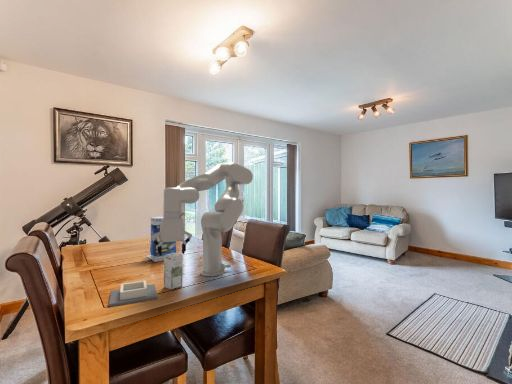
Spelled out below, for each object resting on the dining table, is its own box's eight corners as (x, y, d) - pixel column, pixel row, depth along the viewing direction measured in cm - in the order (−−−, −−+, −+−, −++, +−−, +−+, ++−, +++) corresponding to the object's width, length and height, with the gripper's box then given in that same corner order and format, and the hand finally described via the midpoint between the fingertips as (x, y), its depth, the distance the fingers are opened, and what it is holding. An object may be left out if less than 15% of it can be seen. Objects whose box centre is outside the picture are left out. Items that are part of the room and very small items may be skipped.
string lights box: (154, 262, 154) (154, 218, 154) (150, 259, 160) (150, 217, 159) (176, 258, 163) (176, 216, 162) (171, 255, 169) (171, 215, 168)
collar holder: (154, 286, 118) (154, 277, 118) (157, 298, 106) (157, 288, 106) (111, 292, 111) (111, 283, 111) (108, 307, 98) (108, 296, 98)
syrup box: (175, 283, 122) (174, 252, 122) (182, 286, 118) (182, 254, 118) (163, 287, 118) (163, 254, 117) (171, 290, 114) (171, 257, 113)
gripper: (190, 214, 124) (190, 250, 124) (150, 215, 116) (150, 254, 117) (194, 215, 117) (193, 254, 117) (152, 216, 110) (151, 258, 110)
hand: (171, 254), depth 117 cm, fingers open, 9 cm apart
